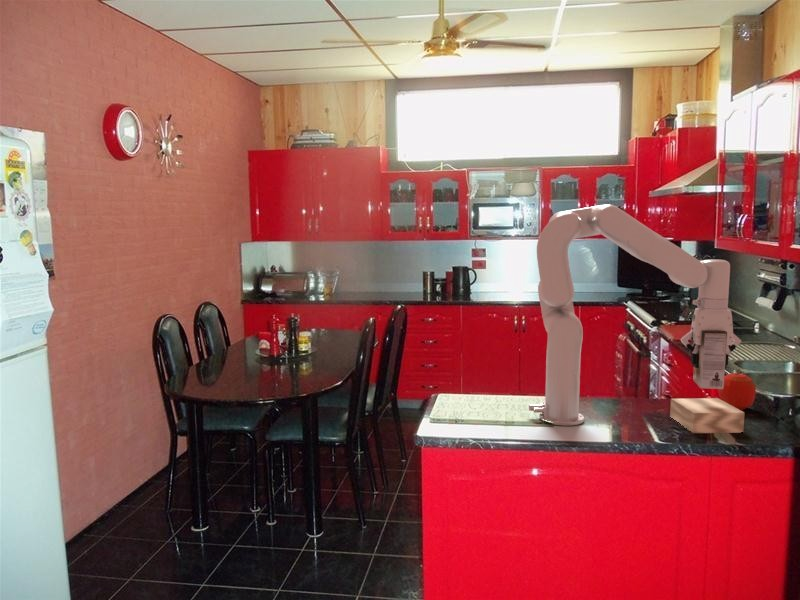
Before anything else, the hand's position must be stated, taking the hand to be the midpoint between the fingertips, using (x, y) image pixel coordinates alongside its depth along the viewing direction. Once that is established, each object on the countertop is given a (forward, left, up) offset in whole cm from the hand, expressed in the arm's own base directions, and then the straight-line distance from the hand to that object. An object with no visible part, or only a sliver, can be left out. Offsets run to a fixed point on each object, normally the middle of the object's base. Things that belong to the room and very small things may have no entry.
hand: (709, 366), depth 182 cm
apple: (+15, +18, -17) cm, 29 cm away
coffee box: (0, 0, -5) cm, 5 cm away
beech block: (0, 0, -17) cm, 17 cm away
